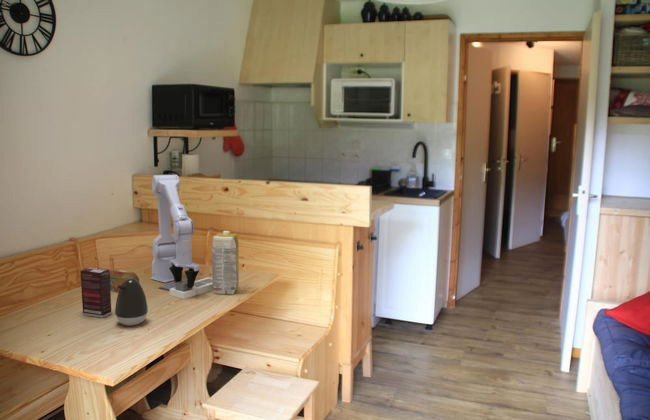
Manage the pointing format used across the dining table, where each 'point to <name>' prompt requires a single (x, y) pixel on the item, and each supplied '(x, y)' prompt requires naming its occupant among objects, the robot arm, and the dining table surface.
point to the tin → (120, 278)
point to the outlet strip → (194, 289)
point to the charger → (182, 286)
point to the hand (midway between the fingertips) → (184, 285)
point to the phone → (169, 286)
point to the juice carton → (225, 263)
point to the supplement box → (96, 292)
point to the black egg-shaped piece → (131, 303)
